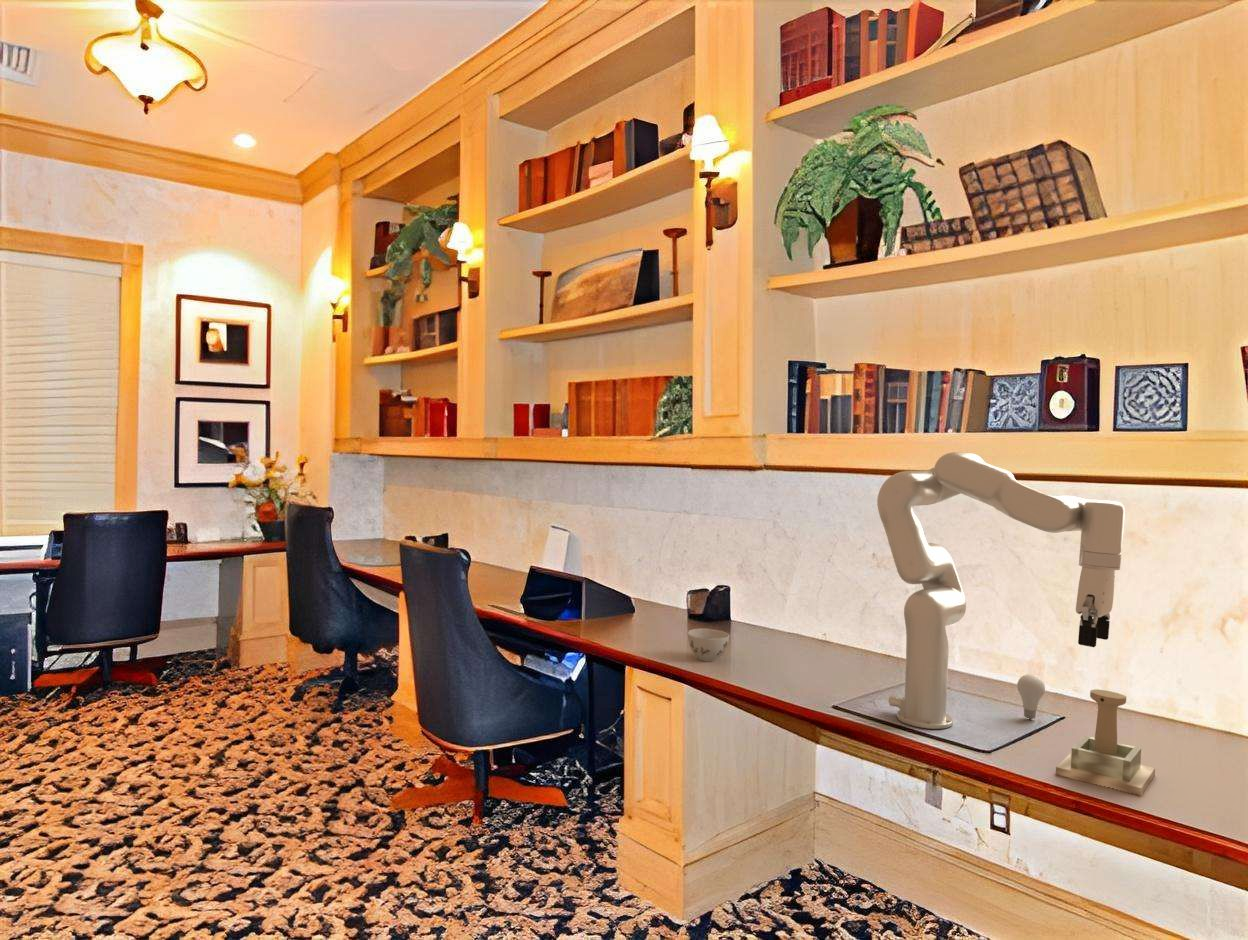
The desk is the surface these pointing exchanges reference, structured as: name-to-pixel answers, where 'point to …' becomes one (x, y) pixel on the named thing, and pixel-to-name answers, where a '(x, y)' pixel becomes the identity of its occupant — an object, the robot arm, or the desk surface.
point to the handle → (1106, 720)
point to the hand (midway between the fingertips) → (1093, 641)
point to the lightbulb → (1030, 693)
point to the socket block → (1107, 767)
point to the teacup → (708, 643)
